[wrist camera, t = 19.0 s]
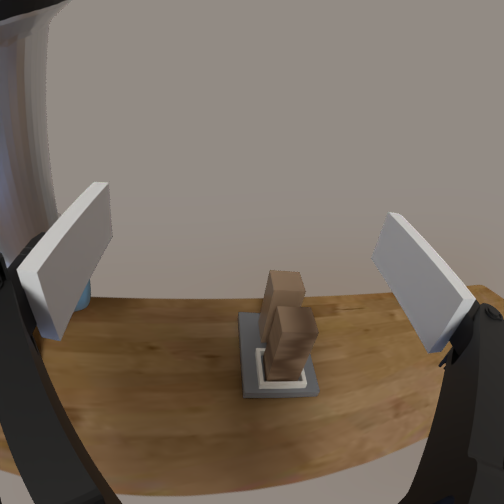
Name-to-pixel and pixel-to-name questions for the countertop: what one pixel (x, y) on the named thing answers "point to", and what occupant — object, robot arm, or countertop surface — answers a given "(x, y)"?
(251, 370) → the baseplate
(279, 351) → the pillar
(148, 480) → the countertop surface
